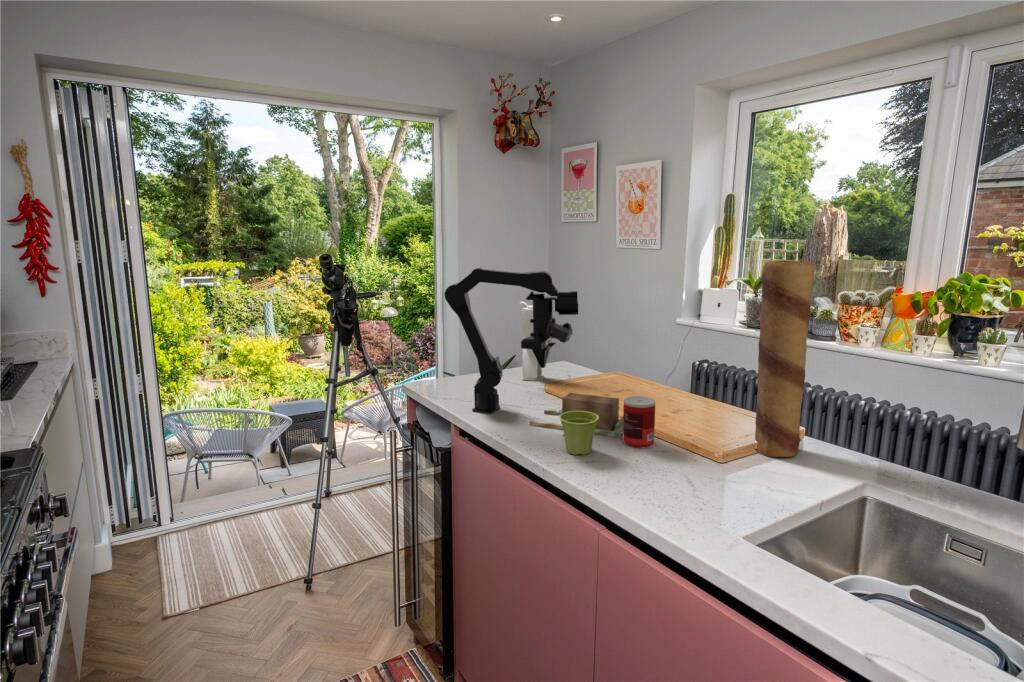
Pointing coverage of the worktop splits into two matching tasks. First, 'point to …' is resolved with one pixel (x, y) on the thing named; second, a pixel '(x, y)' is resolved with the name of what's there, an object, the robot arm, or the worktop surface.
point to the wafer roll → (782, 355)
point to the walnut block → (594, 408)
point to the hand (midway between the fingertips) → (542, 367)
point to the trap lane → (597, 431)
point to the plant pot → (578, 431)
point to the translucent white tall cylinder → (529, 360)
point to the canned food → (638, 421)
